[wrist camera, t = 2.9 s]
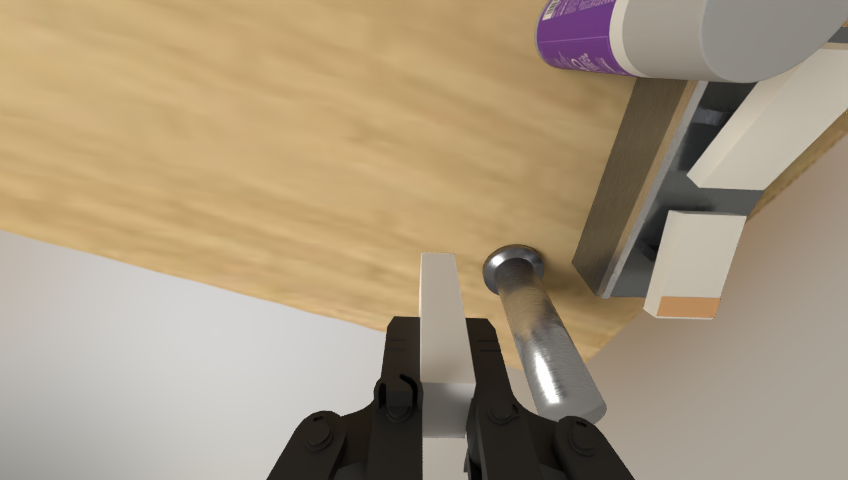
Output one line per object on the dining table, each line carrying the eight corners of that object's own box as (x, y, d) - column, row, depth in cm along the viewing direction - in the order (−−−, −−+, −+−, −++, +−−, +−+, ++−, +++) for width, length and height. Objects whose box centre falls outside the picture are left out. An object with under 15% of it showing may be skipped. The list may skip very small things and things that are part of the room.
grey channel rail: (655, 25, 22) (733, 17, 16) (781, 33, 22) (897, 26, 16) (571, 263, 32) (602, 305, 26) (657, 266, 32) (705, 308, 27)
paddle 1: (668, 210, 23) (685, 214, 21) (727, 212, 23) (748, 216, 21) (643, 309, 25) (656, 318, 23) (696, 310, 25) (713, 320, 24)
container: (532, 72, 23) (675, 97, 10) (535, -8, 21) (730, -109, 8) (597, 63, 23) (830, 76, 10) (608, -19, 20) (937, -145, 7)
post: (487, 243, 30) (536, 382, 18) (547, 245, 31) (639, 384, 18) (478, 290, 34) (515, 438, 21) (533, 292, 34) (603, 440, 21)
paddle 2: (790, 40, 16) (814, 48, 15) (874, 45, 16) (904, 53, 15) (686, 175, 21) (698, 187, 20) (748, 177, 21) (763, 190, 21)
